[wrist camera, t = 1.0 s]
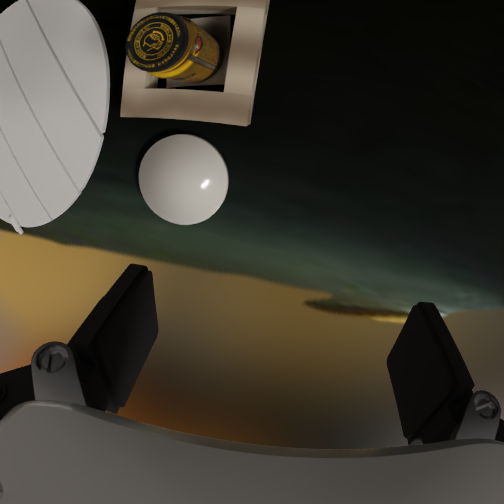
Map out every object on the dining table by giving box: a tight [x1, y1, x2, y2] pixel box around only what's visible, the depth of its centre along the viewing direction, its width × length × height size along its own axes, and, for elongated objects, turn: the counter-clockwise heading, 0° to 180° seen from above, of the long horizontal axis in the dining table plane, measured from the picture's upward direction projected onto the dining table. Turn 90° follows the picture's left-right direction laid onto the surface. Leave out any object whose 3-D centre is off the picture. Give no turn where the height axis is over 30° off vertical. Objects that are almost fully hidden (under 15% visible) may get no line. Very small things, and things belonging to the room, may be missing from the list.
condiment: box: [126, 12, 231, 88], centre depth 23 cm, size 7×8×12 cm
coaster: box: [139, 134, 229, 225], centre depth 35 cm, size 11×11×1 cm
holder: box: [120, 0, 270, 126], centre depth 26 cm, size 16×14×4 cm
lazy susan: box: [0, 0, 110, 235], centre depth 30 cm, size 40×39×3 cm
